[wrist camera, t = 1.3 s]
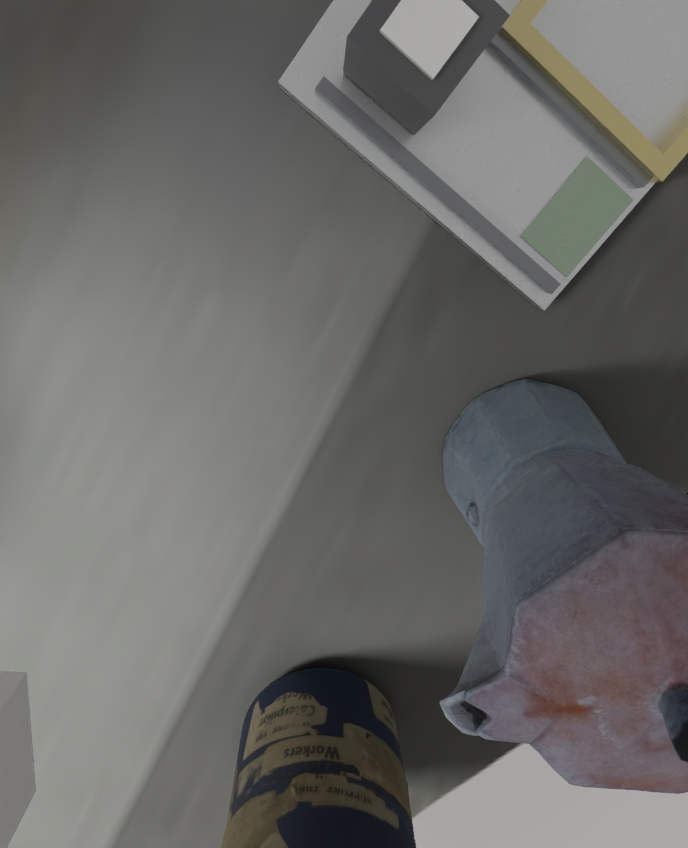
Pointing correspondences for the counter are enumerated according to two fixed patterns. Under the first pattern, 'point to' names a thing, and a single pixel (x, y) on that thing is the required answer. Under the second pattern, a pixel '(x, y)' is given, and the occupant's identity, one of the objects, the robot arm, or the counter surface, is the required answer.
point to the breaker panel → (525, 129)
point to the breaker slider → (418, 52)
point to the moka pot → (572, 592)
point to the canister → (319, 768)
